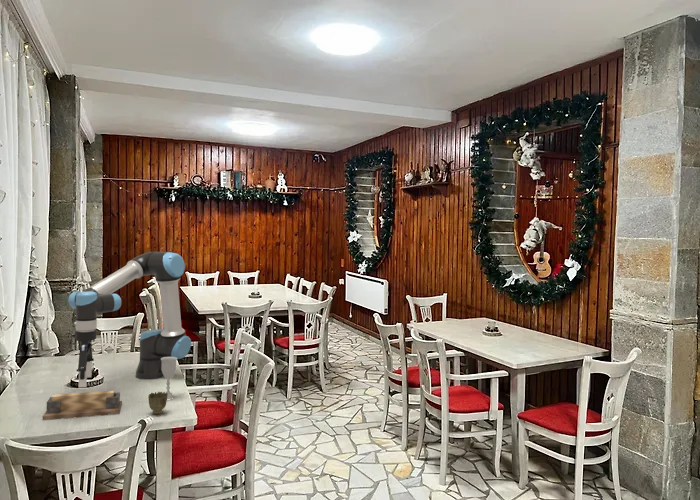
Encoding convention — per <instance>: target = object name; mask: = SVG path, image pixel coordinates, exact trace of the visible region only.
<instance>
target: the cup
mask: <svg viewBox="0 0 700 500" xmlns="http://www.w3.org/2000/svg"><path fill="white" fill-rule="evenodd" d="M167 396H168V394H167V391H158V392H156V391H155V392H154V393H153V392H151V393H149V394H148V405H149V408H150V410H151V411H152V413H154V414H153V415H160V414H159V413H161V414H163V410H164V409H165V408H166V406H167V402H168V400H167Z"/></svg>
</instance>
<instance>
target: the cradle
mask: <svg viewBox="0 0 700 500" xmlns="http://www.w3.org/2000/svg"><path fill="white" fill-rule="evenodd" d="M120 398H121V392H120V391H119V392H114V397H106V408H97V409H84V410H71V411H60V407H61V400H60V401H52V396H50V397H49V399H47V401H46V411H45V412H44V414H43V415H42V421H47V420H48V421H49V420H61V418H64V419H73V418H74V417H76V418H83V417H82V416H88V417H95V416H94V415H101V416H109V415H108V414H113V415H120V413H121V409H122V405H123V401H122V400H121V399H120Z"/></svg>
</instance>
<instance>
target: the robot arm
mask: <svg viewBox="0 0 700 500" xmlns="http://www.w3.org/2000/svg"><path fill="white" fill-rule="evenodd" d="M185 269H186V263H185V260H184V259H183V257H182V256H181V255H180V254H178V253H176V252H170V251H147V252H145V253H143V254H139V255H137V256H136V257H133V258H132V259H131V260H129V261H127V262H126V265H125V266H123V267H121V268H120V269H117V270H116V271H115V272H113V273H111V274H109V275H107V277H104V278H103V279H101V280H99V281H98V282H96V283H95V284H92V285H91V286H89V287H88V288H86V289H84V290H83V291H73V292H72V293H71V294H70V295H69V297H68V298H67V299H68V300H67V301H68V305H69V307H70V308H72V309H75V322H74V323H73V325H74V326H75V330H76V331H75V333H74V334H75V336H74V339H75V341H77V342H81V343H80V345H79V352H78V353H79V354H78V367H77V369H76V372H78V388H87V379H88V378H92V370H93V369H92V366H93V365H92V364H93V363H92V362H94V361H95V359H94V357H93V343H92V341H95V340H96V339H97V330H96V329H97V326H98V325H97V324H98V323H97V320H98V317H97V316H98V314H104V313H110V312H111V313H112V312H115V311H118V310H120V308H121V306H122V298H121V297H120V295H119V294H117V293H114V292H117V291H118V290H119V289H121V288H123V287H124V286H125V285H128V284H129V283H131V282H132V281H134V280H135V279H141V278H142V277H144V276H154V277H155V278H154V279H155V282H156V283H157V284H159V285H158V286H159V295H160V304H161V305H160V306H161V318H162V327H163V329H152V330H146V331H142V332H141V333H140V336H139V337H140V339H139V362H138V364H137V367H136V369H135V378H137V379H142V380H152V379H153V380H154V379H160V378H163V377H164V375H163V373H162V370H161V368H162V361H161V358H163V357H176V358H177V360H179V359H180V360H181V359H183V358H185V357H186V356H187V355H188V354H189V351H190V349H191V347H192V339H191V338H190V337H189V336H187V335H186V330H185V329H184V328H183V327H182V319H181V318H182V317H181V307H180V305H181V304H180V296H179V295H180V293H179V292H180V291H179V281H180V280H181V277H182V275H183V274H184V273H185ZM164 378H165V377H164Z"/></svg>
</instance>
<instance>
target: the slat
mask: <svg viewBox="0 0 700 500" xmlns="http://www.w3.org/2000/svg"><path fill="white" fill-rule="evenodd" d="M114 393H115V390H104V391H103V390H101V391H89V392H88V391H87V392H86V391H85V392H72V393H70V392H69V393H61V394H60V393H57V394H53V395H52V396H51V397H52V401H60V400H61V407H60V411H71V410H84V409H97V408H106V397H114Z"/></svg>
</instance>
